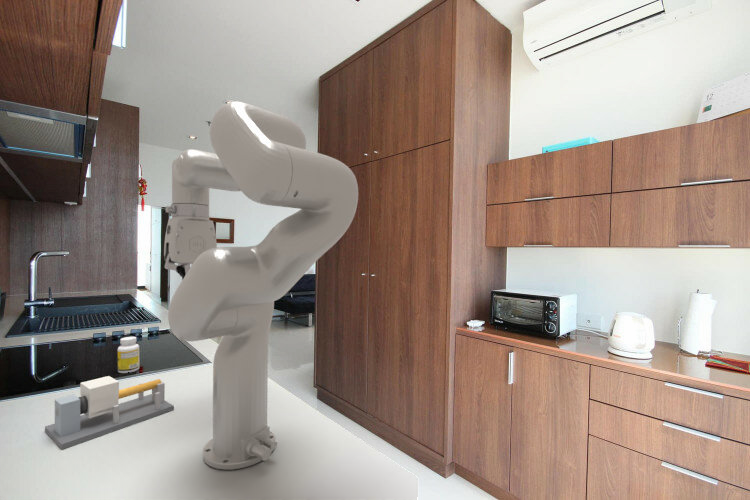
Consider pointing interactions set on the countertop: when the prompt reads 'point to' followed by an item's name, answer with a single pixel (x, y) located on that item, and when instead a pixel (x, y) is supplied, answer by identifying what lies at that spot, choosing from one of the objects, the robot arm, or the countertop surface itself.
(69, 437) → the linear actuator
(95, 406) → the white sliding carriage
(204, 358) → the countertop surface
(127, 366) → the supplement bottle
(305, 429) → the countertop surface
